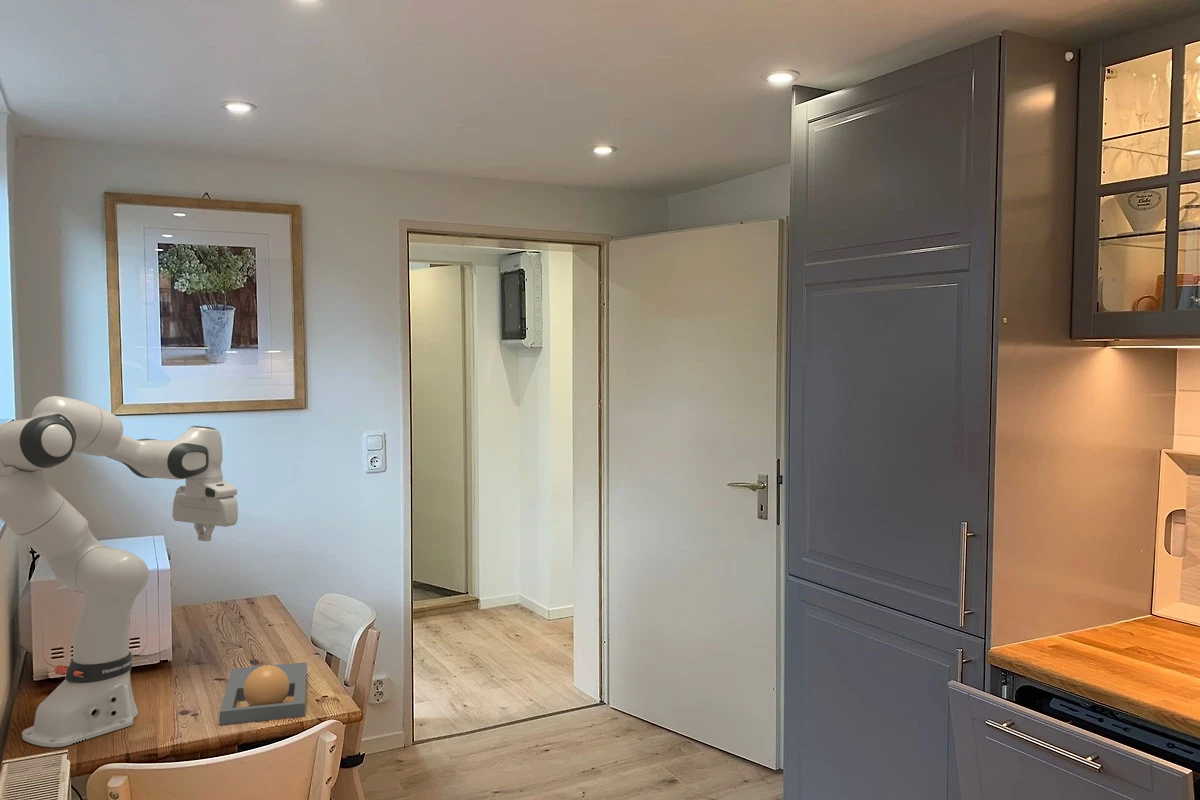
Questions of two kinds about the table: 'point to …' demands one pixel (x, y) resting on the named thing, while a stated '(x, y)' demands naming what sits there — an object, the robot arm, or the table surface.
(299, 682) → the deck
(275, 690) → the ball
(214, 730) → the table surface
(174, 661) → the table surface
